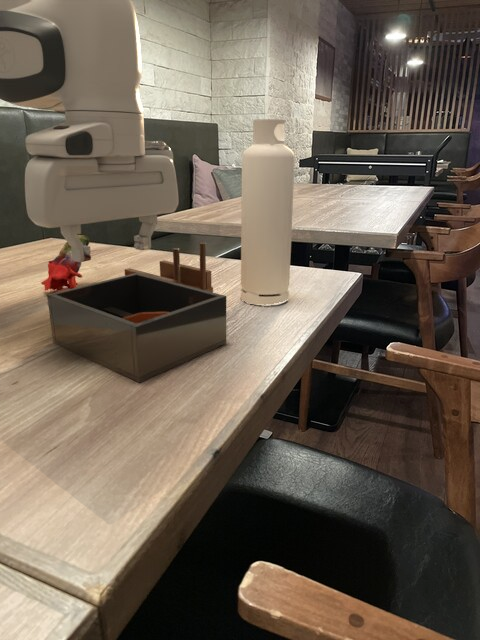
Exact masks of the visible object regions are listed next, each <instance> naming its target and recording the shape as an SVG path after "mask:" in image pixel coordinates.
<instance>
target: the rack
mask: <svg viewBox="0 0 480 640" xmlns="http://www.w3.org/2000/svg"><path fill="white" fill-rule="evenodd" d="M198 248H199V267H195V266H191V265H186V264H183V263H181V260H180V259H181V257H180V248H178V247H174V248H172V261H168V260H160V261H159V275H157V274H153V273H149V272H146V271H141V270H138V269H134V268H131V267H129V268H125V269H124V276H126V275H130V274H134V273H140V274H144V275H148V276H152V277H155V278H159V279H163V280H167V281H171V282H174V283H178V284H182V285H186V286H190V287H194V288H197V289H201V290H205V291H209V292H213V293H214V287H213V286H212V270H209V269H207V265H206V264H207V260H206V258H207V257H206V256H207V255H206V253H207V252H206V251H207V250H206V242H199V247H198Z"/></svg>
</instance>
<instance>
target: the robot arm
mask: <svg viewBox="0 0 480 640" xmlns="http://www.w3.org/2000/svg"><path fill="white" fill-rule="evenodd" d="M141 53H142V51H141V41H140V31H139V23H138V18H137V13H136V9H135V4H134V3H133V1H132V0H0V101H1V100H2V101H4V102H6V103H8V104H11V105H14V106H18V107H23V108H32V109H35V110H41V111H50V112H51V111H53V112H55V113H57V114H58V113H59V114H63V115H64V117H65V122H61V123H57V124H56V125H53V126H51V127H48V128H45V129H42V130H39V131H37V132H33V133H30V134H28V135H27V136H26V137H25V142H24V143H25V149H26V151H27V153H28V154H29V155H31V156H34V157H32V158H30V159H29V161H28V162H27V163H26V166H25V169H24V170H25V171H24V198H25V206H26V207H25V208H26V213H27V214H26V215H27V217H28V218H29V219H30V220H31V222H32V223H33V224H34V225H36V226H39V227H42V228H47V229H54V228H60V234H61V235H62V236H63V238H64V239H65V241H66V243H67V242H68V244H69V245H70V246H71V249H72V258H73V260H74V261H76V262H82V263H84V262H88V261H91V259H92V255H91V253H92V252H91V246H89V245H88V246H85V245H83V244H82V242H81V241H80V239H79V237H78V236H77V235H81V234H82V227H81V226H82V225H85V224H94V223H101V222H110V221H116V220H124V219H125V220H126V219H132V218H138V221H139V222H140V223H141V226H140V229H139V232H138V234H136V235H133V241H134V244H133V246H134V249H135V250H137V251H146V250H150V249H151V248H152V236H153V234H154V231H155V229H156V227H157V225H158V215H164V214H165V215H166V214H172V213H175V212H176V210H177V208H178V206H179V188H178V181H177V174H176V168H175V164H174V154H173V151H172V150H171V148H170V147H169V145H167V144H166V143H165V142H164V141H162V140H153V141H151V140H145V120H144V108H143V104H142V101H141V96H140V85H141V79H142V75H143V71H142V70H143V69H142V54H141Z"/></svg>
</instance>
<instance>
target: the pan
mask: <svg viewBox="0 0 480 640" xmlns="http://www.w3.org/2000/svg"><path fill="white" fill-rule="evenodd" d="M102 311H103V312H106V313H108V314H111V315H114V316H117V317H120V318H122V319H125V320H128V321H131V322H134V323H136V324H137V323H140V322H143V321H146V320H149V319H152V318H155V317H158V316H161V315H164V314H167V313H170V312H141V313H140V312H139V313H136V314H131V313H128V312H125V311H122V310H119V309H116V308H113V307H107V308H104V309H102Z"/></svg>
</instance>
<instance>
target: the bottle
mask: <svg viewBox="0 0 480 640" xmlns="http://www.w3.org/2000/svg"><path fill="white" fill-rule="evenodd" d="M252 129H253V134H252V144H251V145H250V146H248V147H247V148H246V149H245V150H244V151H243V153H242V156H241V205H240V207H241V208H240V209H241V210H240V211H241V216H240V222H241V223H240V224H241V225H240V227H241V229H240V286H241V289H240V300H241V299H242V300H243V301H245V302H248V303H251V304H264V305H266V304H274V303H279V302H283V301H285V300H287V299H288V298H289V299H290V289H289V288H290V279H291V278H290V275H291V253H292V232H293V211H294V210H293V208H294V183H295V163H296V161H295V160H296V157H295V153H294V152H293V151H292V149H291V148H290V147H288V146H286V145H285V140H286V139H285V138H286V137H285V136H286V135H285V134H286V133H285V131H286V119H279V118H278V119H277V118H276V119H275V118H274V119H272V118H271V119H269V118H267V119H265V118H263V119H259V118H258V119H253V123H252ZM279 294H280V295H279ZM262 295H263V296H262ZM273 295H274V296H273ZM242 300H241V301H242ZM243 301H242V302H243Z"/></svg>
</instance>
